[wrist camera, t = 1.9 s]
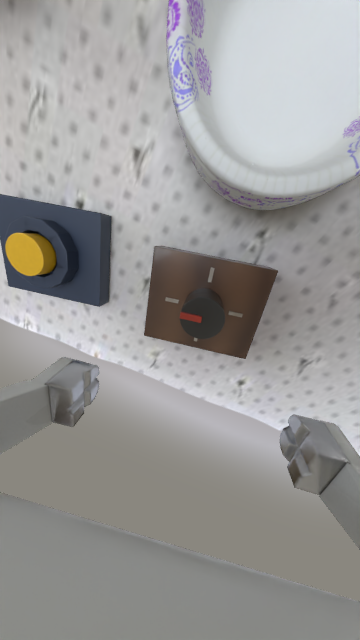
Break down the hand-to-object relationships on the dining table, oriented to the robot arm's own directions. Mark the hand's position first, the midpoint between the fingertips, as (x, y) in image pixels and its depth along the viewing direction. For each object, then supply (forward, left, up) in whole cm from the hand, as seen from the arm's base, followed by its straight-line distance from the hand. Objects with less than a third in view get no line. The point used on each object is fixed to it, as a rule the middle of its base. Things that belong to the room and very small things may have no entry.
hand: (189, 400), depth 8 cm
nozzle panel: (0, 0, -16) cm, 16 cm away
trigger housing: (+18, -2, -16) cm, 24 cm away
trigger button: (+18, -2, -13) cm, 22 cm away
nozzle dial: (0, 0, -13) cm, 13 cm away
